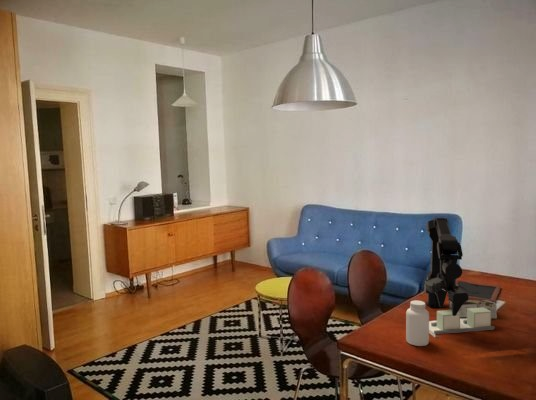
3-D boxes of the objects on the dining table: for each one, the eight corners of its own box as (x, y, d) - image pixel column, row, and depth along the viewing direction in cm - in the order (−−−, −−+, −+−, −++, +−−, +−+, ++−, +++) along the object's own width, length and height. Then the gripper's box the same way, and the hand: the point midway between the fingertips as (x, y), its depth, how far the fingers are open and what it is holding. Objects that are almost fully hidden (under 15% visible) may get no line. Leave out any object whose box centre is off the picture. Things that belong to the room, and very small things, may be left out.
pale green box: (436, 326, 164) (436, 310, 164) (453, 325, 165) (453, 309, 164) (442, 331, 160) (442, 315, 159) (460, 330, 160) (460, 313, 160)
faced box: (466, 324, 166) (467, 308, 165) (483, 323, 167) (483, 307, 166) (473, 329, 161) (474, 312, 161) (490, 327, 162) (491, 311, 161)
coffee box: (496, 302, 171) (454, 301, 173) (497, 319, 170) (455, 317, 172) (488, 299, 179) (448, 298, 182) (488, 315, 179) (449, 314, 181)
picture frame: (457, 284, 224) (447, 297, 203) (457, 280, 223) (447, 293, 203) (500, 289, 212) (494, 304, 192) (500, 285, 212) (494, 300, 192)
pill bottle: (428, 338, 158) (428, 299, 156) (429, 348, 150) (429, 307, 148) (406, 336, 160) (406, 298, 159) (405, 345, 153) (406, 305, 151)
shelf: (419, 325, 170) (419, 318, 170) (475, 321, 173) (475, 314, 172) (435, 337, 158) (435, 330, 158) (494, 332, 161) (494, 326, 160)
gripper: (416, 266, 168) (416, 304, 170) (441, 280, 150) (440, 322, 151) (442, 265, 170) (442, 302, 171) (470, 278, 151) (469, 319, 153)
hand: (447, 311), depth 162 cm, fingers open, 9 cm apart
